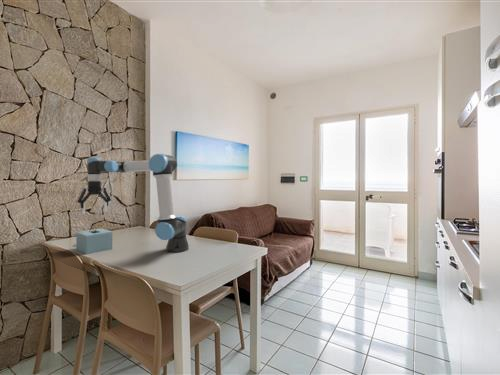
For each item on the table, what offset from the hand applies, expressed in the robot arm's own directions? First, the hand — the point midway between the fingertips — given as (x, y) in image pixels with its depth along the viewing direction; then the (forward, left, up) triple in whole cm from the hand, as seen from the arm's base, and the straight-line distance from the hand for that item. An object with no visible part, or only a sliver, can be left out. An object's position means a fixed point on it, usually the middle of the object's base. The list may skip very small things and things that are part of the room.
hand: (94, 212), depth 175 cm
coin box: (0, 0, -25) cm, 25 cm away
